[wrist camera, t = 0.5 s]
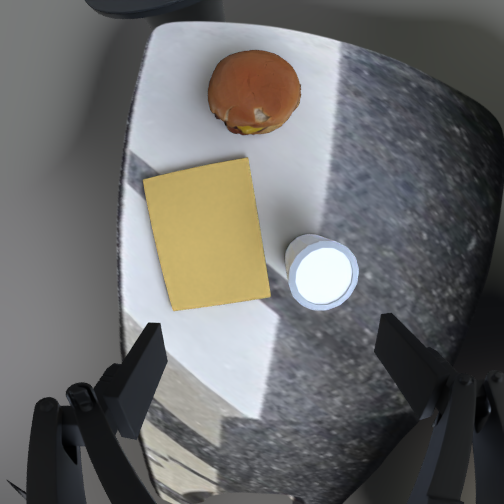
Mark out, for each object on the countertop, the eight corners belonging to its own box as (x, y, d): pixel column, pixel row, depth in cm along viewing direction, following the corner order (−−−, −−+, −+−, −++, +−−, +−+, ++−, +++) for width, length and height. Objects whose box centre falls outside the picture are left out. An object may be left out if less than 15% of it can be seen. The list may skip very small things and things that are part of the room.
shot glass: (288, 221, 31) (300, 232, 24) (344, 236, 31) (368, 250, 25) (272, 279, 32) (279, 304, 26) (327, 290, 33) (345, 316, 26)
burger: (270, 49, 26) (274, 30, 21) (312, 112, 28) (322, 102, 24) (194, 85, 27) (186, 70, 22) (234, 151, 29) (232, 146, 25)
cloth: (143, 179, 30) (142, 179, 29) (248, 157, 29) (247, 157, 29) (173, 309, 33) (172, 311, 33) (270, 295, 33) (270, 297, 33)
